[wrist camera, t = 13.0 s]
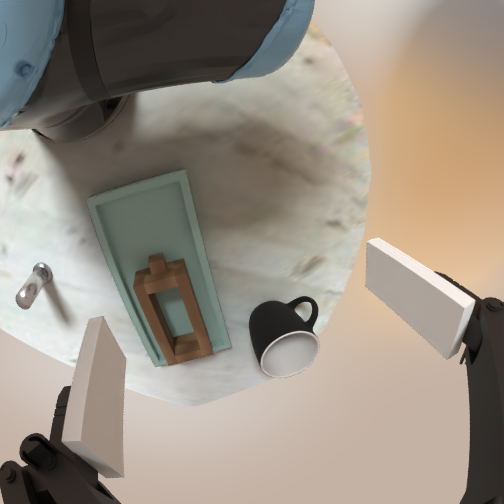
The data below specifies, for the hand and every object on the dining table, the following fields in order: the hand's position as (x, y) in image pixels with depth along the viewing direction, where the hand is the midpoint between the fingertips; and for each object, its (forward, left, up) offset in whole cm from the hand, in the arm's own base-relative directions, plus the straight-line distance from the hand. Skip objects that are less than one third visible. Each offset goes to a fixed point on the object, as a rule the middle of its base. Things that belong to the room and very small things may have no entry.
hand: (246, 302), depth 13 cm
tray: (+11, -7, -27) cm, 30 cm away
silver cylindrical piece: (+5, -25, -27) cm, 37 cm away
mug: (+22, +8, -27) cm, 36 cm away
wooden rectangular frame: (+16, -7, -26) cm, 31 cm away
